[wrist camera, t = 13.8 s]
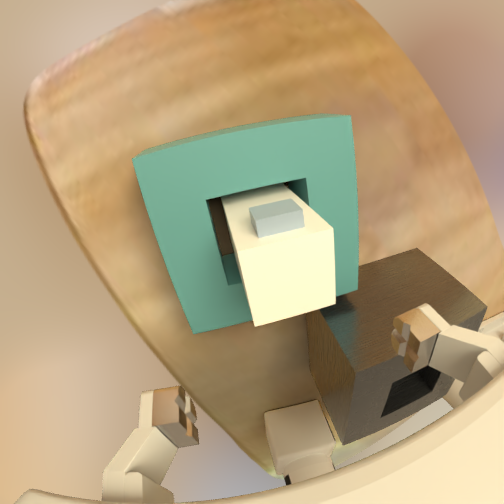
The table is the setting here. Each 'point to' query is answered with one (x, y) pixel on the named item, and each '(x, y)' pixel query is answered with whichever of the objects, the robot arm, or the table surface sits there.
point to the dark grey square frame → (382, 343)
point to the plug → (280, 252)
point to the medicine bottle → (300, 441)
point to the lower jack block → (240, 179)
